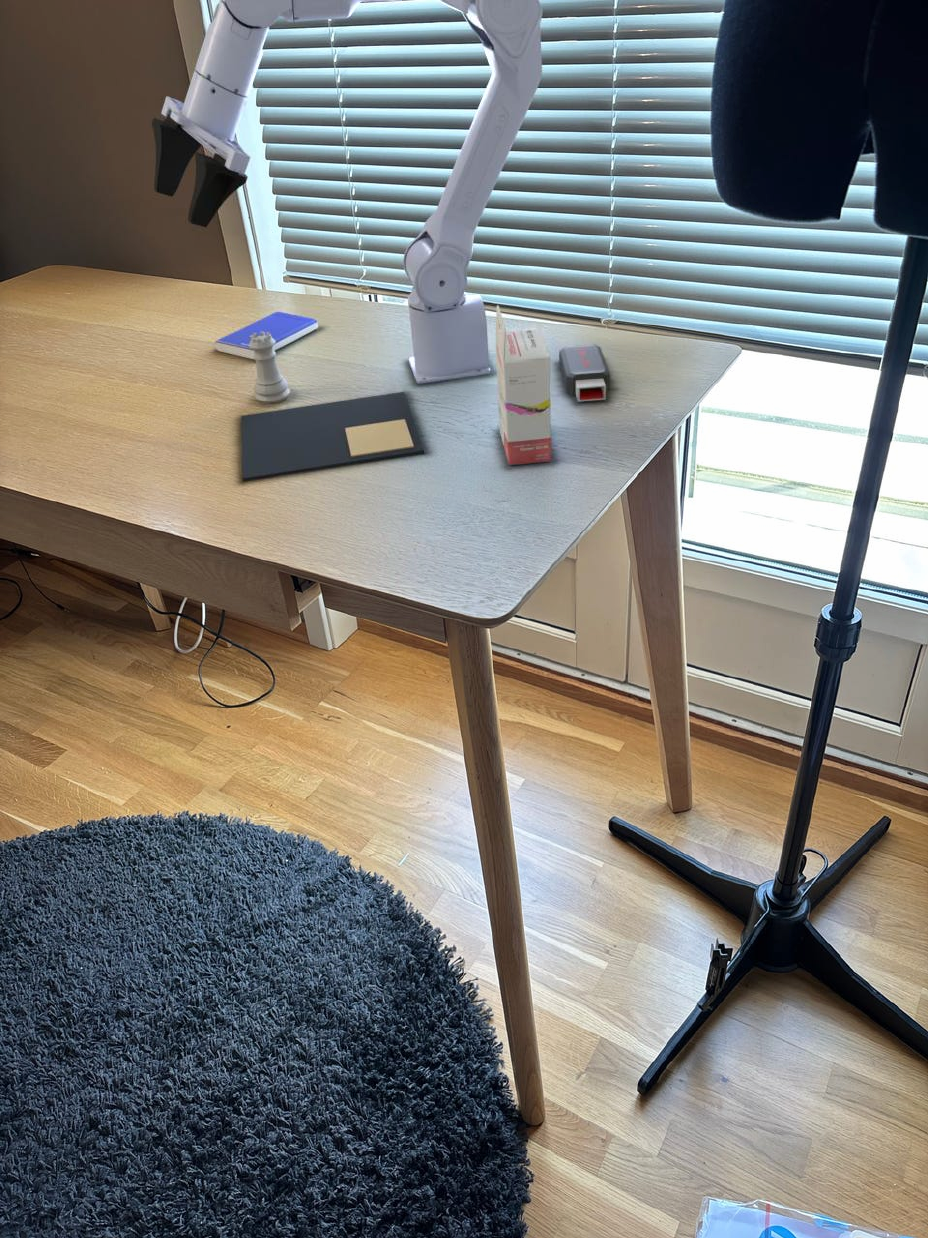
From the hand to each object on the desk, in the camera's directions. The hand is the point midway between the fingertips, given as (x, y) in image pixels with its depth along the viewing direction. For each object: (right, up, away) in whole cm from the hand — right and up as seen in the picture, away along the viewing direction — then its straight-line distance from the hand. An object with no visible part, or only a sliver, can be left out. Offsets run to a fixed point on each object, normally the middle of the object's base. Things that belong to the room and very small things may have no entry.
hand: (179, 208), depth 106 cm
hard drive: (+4, -6, +30) cm, 31 cm away
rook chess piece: (+8, -18, +14) cm, 24 cm away
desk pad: (+16, -24, +5) cm, 29 cm away
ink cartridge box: (+38, -27, -1) cm, 47 cm away
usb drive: (+46, -16, +11) cm, 51 cm away
